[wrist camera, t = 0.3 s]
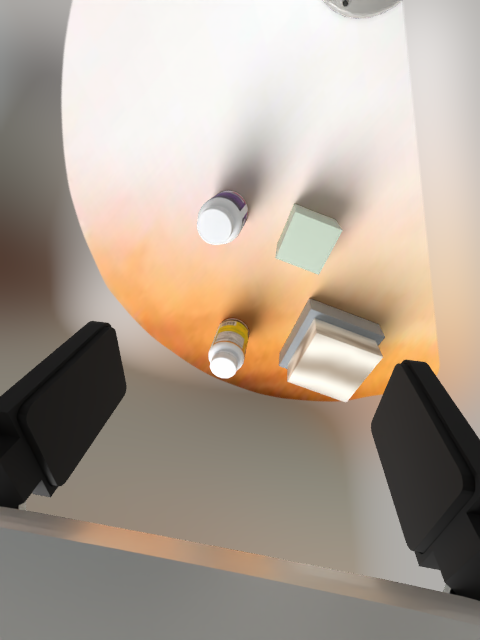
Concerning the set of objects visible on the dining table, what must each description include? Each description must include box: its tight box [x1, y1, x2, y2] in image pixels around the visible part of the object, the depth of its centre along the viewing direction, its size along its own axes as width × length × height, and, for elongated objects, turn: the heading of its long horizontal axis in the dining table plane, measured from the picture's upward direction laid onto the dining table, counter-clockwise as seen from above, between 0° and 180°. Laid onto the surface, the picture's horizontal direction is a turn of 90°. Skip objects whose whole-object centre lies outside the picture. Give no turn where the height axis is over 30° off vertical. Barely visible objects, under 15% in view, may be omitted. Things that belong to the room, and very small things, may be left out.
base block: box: [279, 298, 385, 369], centre depth 47 cm, size 12×12×4 cm
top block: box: [287, 318, 383, 402], centre depth 44 cm, size 10×10×4 cm
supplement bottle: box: [209, 318, 249, 378], centre depth 46 cm, size 6×6×10 cm
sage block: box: [276, 204, 343, 275], centre depth 37 cm, size 6×6×6 cm
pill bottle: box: [197, 191, 248, 245], centre depth 36 cm, size 5×5×10 cm
